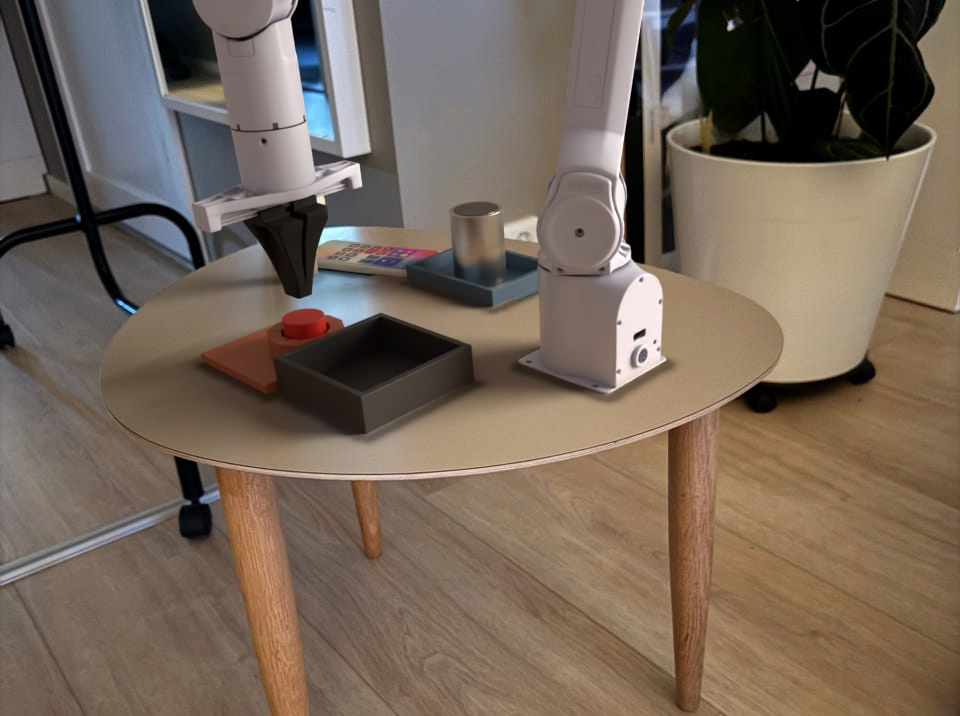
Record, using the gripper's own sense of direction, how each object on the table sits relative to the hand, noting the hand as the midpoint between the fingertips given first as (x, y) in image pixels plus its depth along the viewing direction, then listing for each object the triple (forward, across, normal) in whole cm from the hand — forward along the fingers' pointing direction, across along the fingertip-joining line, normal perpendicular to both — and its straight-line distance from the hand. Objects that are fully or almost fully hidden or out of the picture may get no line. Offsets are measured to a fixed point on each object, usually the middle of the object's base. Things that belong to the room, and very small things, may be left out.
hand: (298, 294), depth 78 cm
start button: (+4, 0, 0) cm, 4 cm away
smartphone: (+6, -19, -15) cm, 25 cm away
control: (+6, +2, -2) cm, 7 cm away
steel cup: (+6, -22, -1) cm, 23 cm away
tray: (+6, -22, -1) cm, 23 cm away
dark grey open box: (+6, 0, +9) cm, 11 cm away
